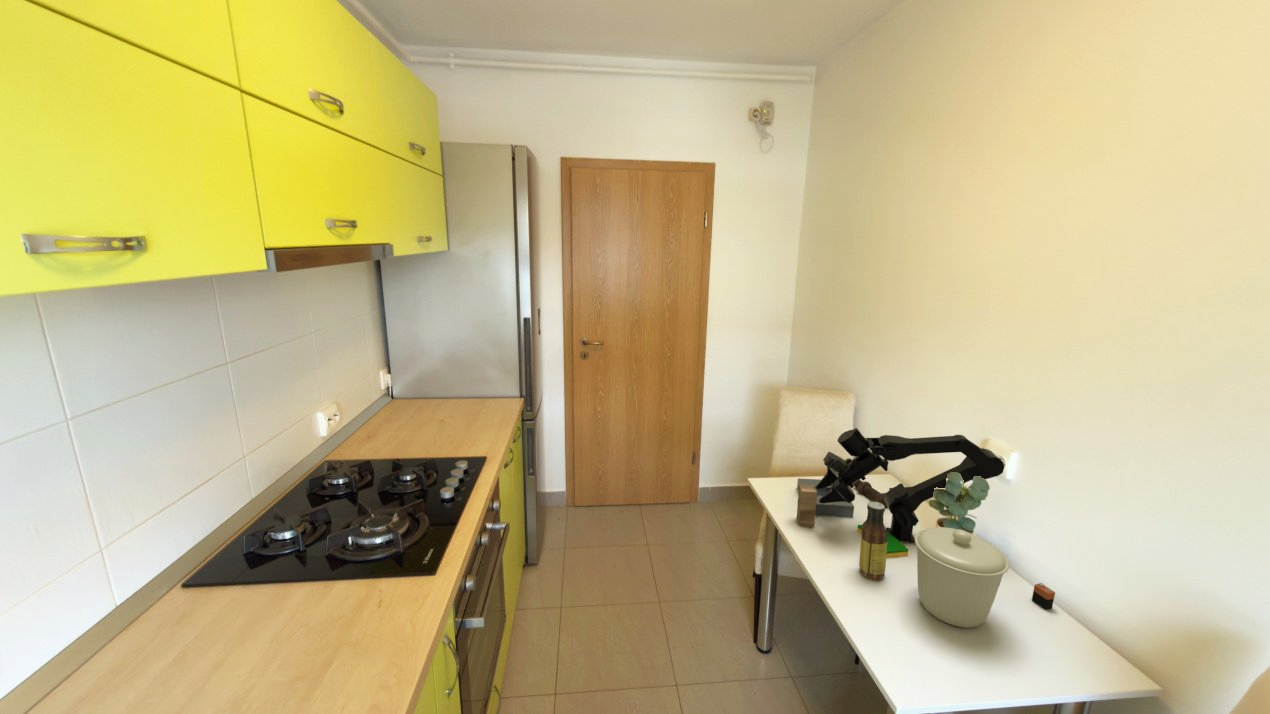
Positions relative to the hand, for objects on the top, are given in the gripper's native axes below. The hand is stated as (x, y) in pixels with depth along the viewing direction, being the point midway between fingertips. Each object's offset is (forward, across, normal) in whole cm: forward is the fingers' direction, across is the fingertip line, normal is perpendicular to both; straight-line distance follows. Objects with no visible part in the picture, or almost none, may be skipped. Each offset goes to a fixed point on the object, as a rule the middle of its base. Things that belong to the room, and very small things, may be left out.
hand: (818, 494), depth 146 cm
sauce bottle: (-1, +21, +16) cm, 26 cm away
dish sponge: (-5, +5, +20) cm, 21 cm away
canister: (-12, +31, +27) cm, 43 cm away
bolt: (-7, -23, +22) cm, 32 cm away
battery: (-28, +22, +42) cm, 56 cm away
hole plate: (+4, -15, +10) cm, 19 cm away
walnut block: (+9, 0, +5) cm, 11 cm away
